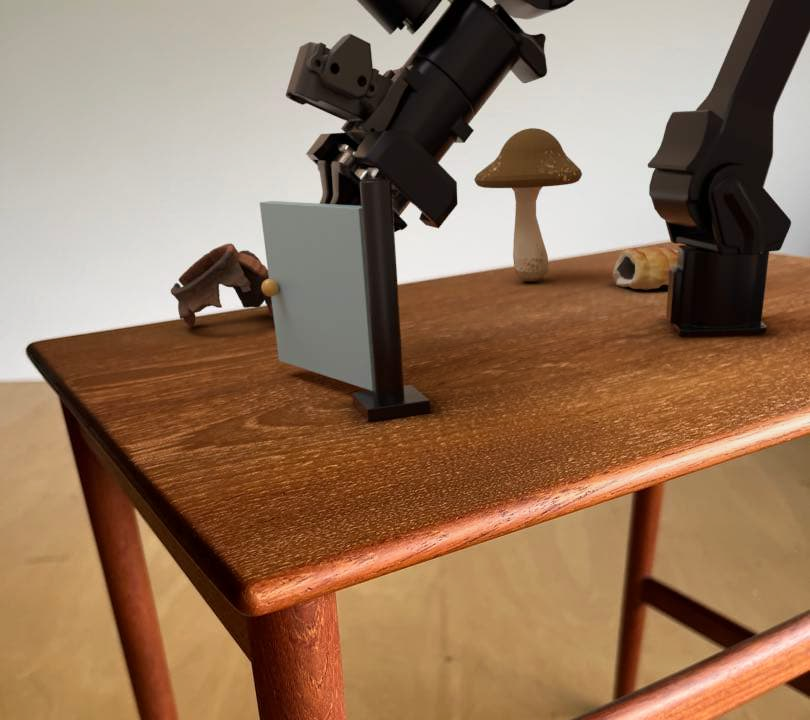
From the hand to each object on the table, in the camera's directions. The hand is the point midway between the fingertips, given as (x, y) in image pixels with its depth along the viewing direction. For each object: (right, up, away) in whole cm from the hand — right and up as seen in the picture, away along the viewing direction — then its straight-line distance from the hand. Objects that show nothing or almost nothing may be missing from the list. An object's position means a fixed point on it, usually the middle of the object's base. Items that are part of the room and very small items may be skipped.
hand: (299, 273), depth 61 cm
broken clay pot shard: (-8, +2, +22) cm, 24 cm away
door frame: (+6, -10, -6) cm, 13 cm away
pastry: (+33, +7, +27) cm, 43 cm away
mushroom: (+21, +9, +34) cm, 40 cm away
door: (+2, -7, -1) cm, 8 cm away
